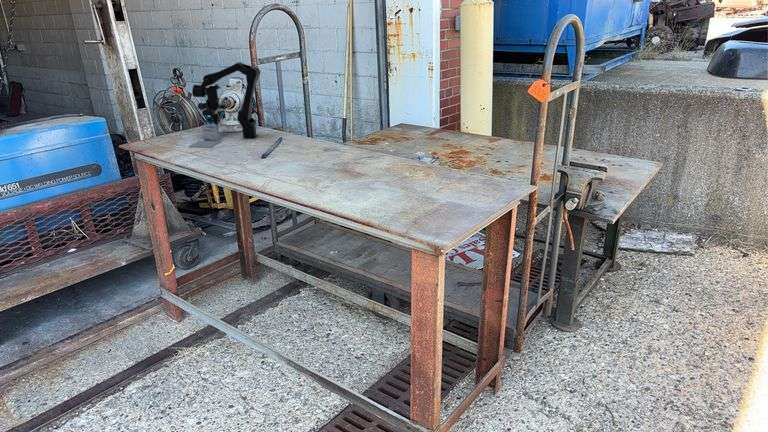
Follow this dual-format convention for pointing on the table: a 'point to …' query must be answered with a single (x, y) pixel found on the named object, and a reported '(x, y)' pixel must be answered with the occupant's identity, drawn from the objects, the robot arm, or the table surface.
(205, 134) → the medicine box
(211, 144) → the slate mat
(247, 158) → the table surface
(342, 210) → the table surface
